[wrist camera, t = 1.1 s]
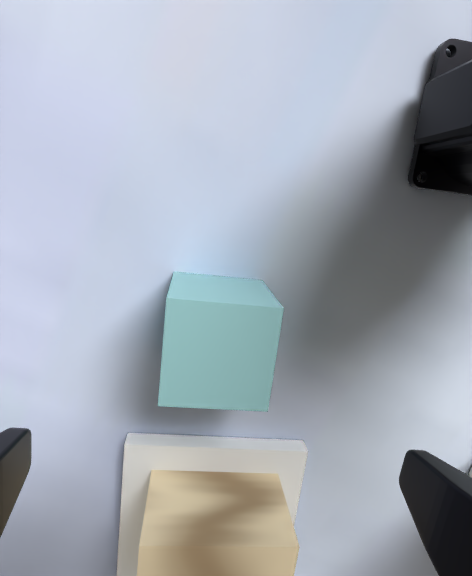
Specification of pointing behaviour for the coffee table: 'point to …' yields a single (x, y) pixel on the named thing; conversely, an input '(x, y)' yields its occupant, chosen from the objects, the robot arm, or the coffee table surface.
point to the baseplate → (198, 457)
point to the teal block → (219, 343)
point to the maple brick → (216, 525)
